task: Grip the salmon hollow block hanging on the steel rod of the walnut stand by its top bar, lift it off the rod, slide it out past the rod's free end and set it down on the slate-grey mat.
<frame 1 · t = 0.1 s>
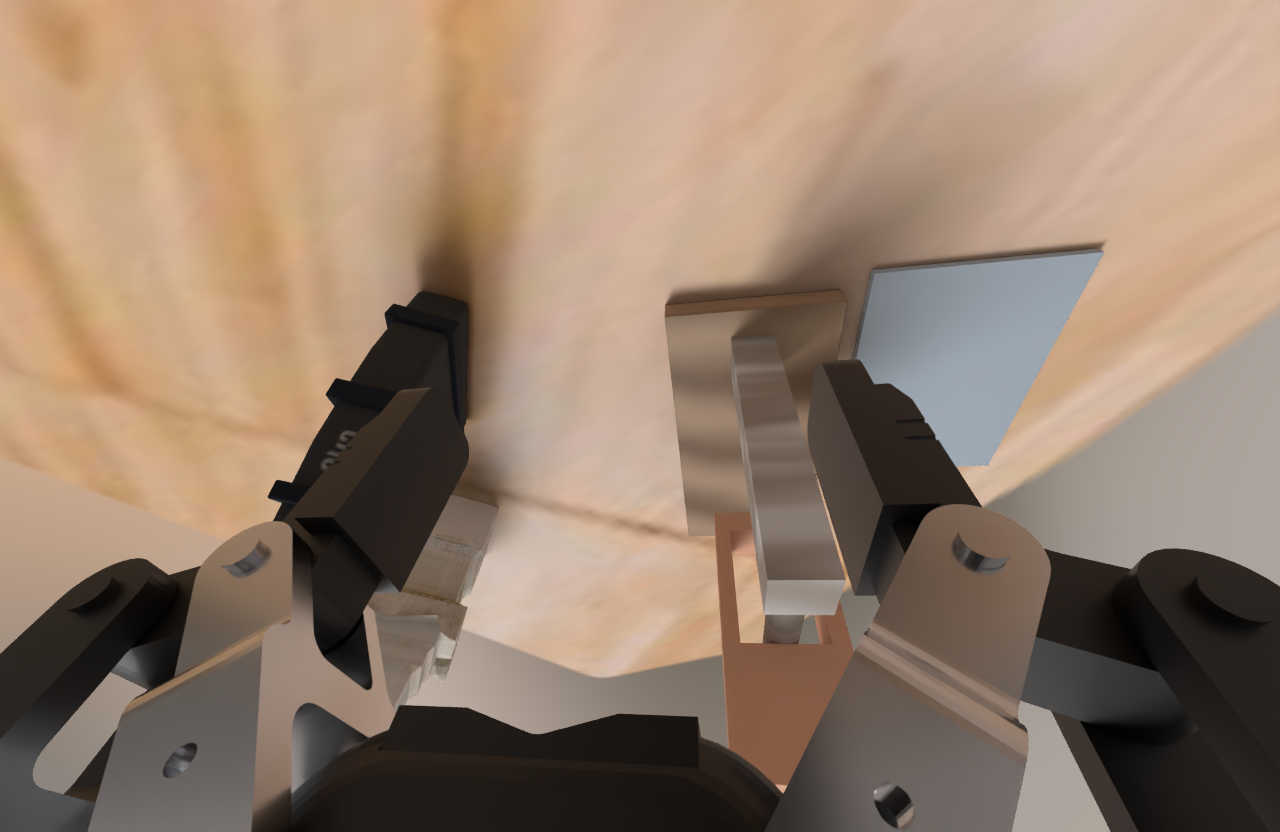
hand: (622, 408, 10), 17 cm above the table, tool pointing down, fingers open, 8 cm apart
miniature monument: (443, 519, 44), on the table
salmon hollow block: (763, 524, 26), point 9 cm above the table, touching stand
stand: (746, 433, 33), on the table
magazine: (447, 374, 32), on the table
mat: (936, 379, 29), on the table
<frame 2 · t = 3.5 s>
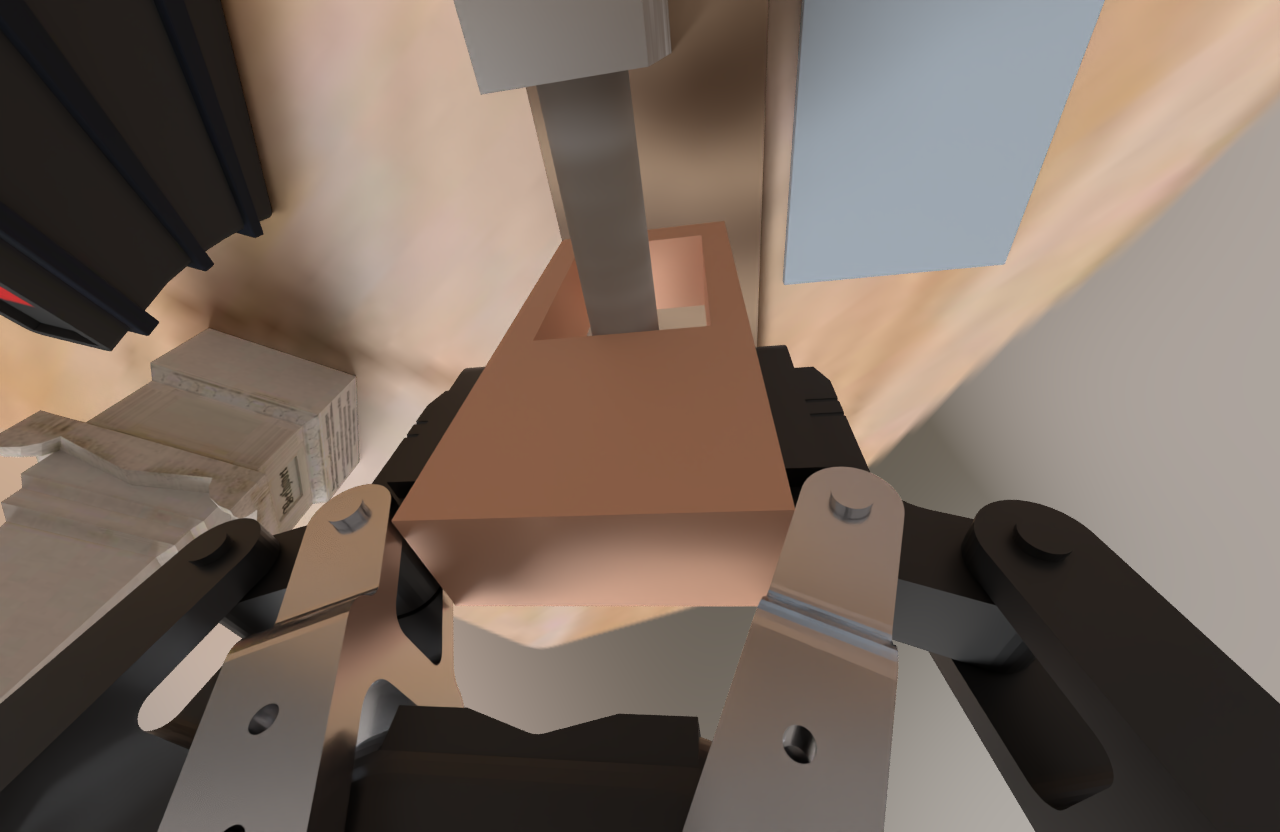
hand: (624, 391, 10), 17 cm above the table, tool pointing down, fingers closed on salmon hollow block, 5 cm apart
miniature monument: (294, 401, 34), on the table
salmon hollow block: (646, 264, 16), point 9 cm above the table, touching gripper, stand
stand: (659, 220, 24), on the table
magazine: (226, 121, 22), on the table
mat: (926, 91, 19), on the table
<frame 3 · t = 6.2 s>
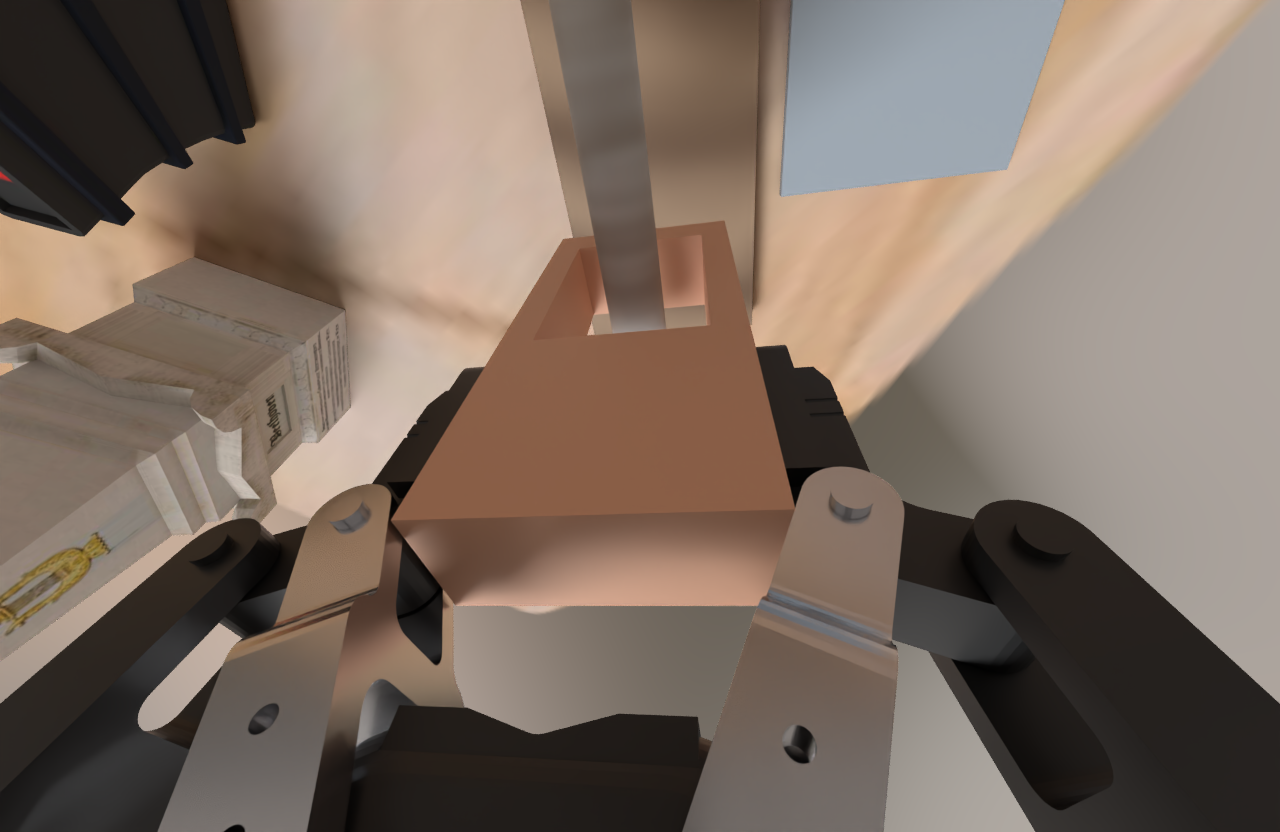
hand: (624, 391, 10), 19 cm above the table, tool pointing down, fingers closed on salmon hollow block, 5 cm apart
miniature monument: (283, 339, 34), on the table
salmon hollow block: (646, 264, 16), point 11 cm above the table, touching gripper
stand: (653, 125, 23), on the table
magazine: (205, 19, 22), on the table
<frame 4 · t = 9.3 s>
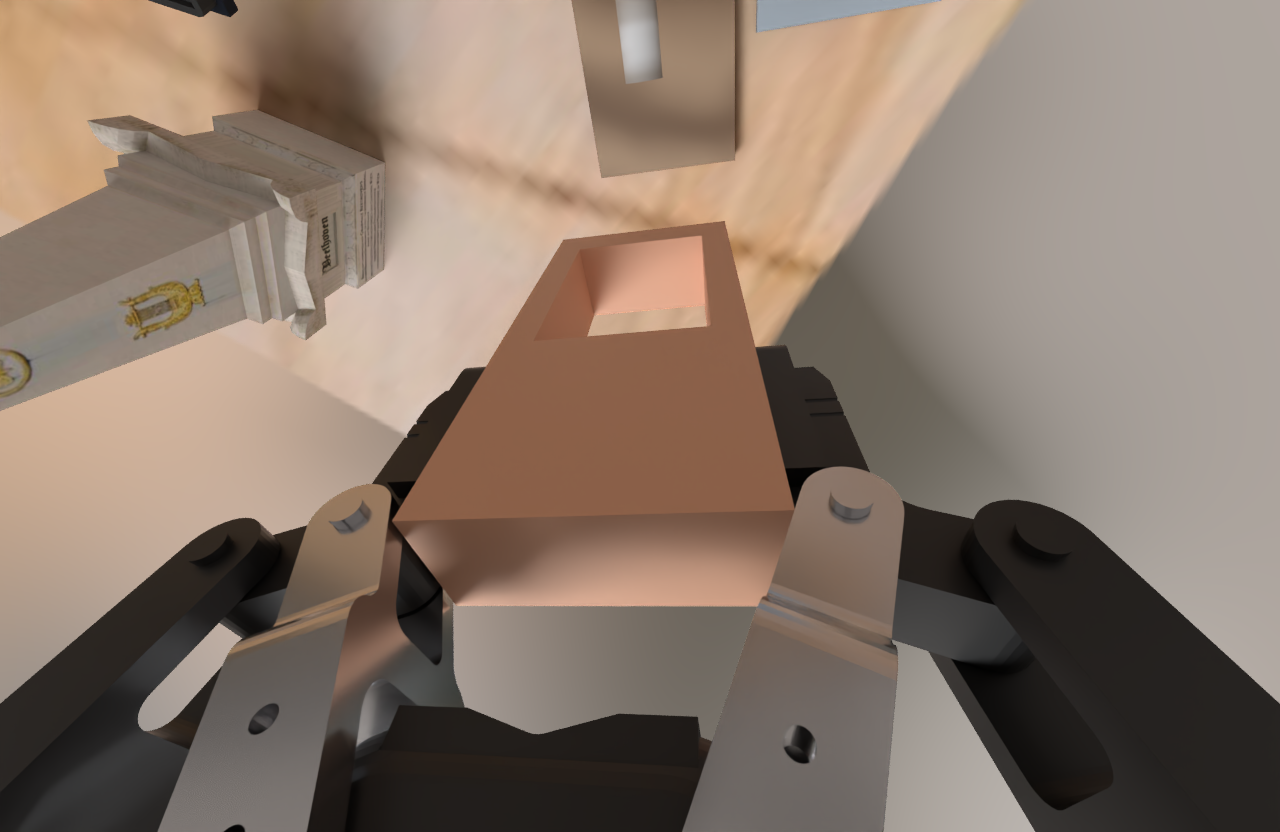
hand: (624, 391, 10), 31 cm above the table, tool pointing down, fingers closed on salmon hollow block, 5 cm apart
miniature monument: (328, 197, 38), on the table
salmon hollow block: (646, 264, 16), point 23 cm above the table, touching gripper
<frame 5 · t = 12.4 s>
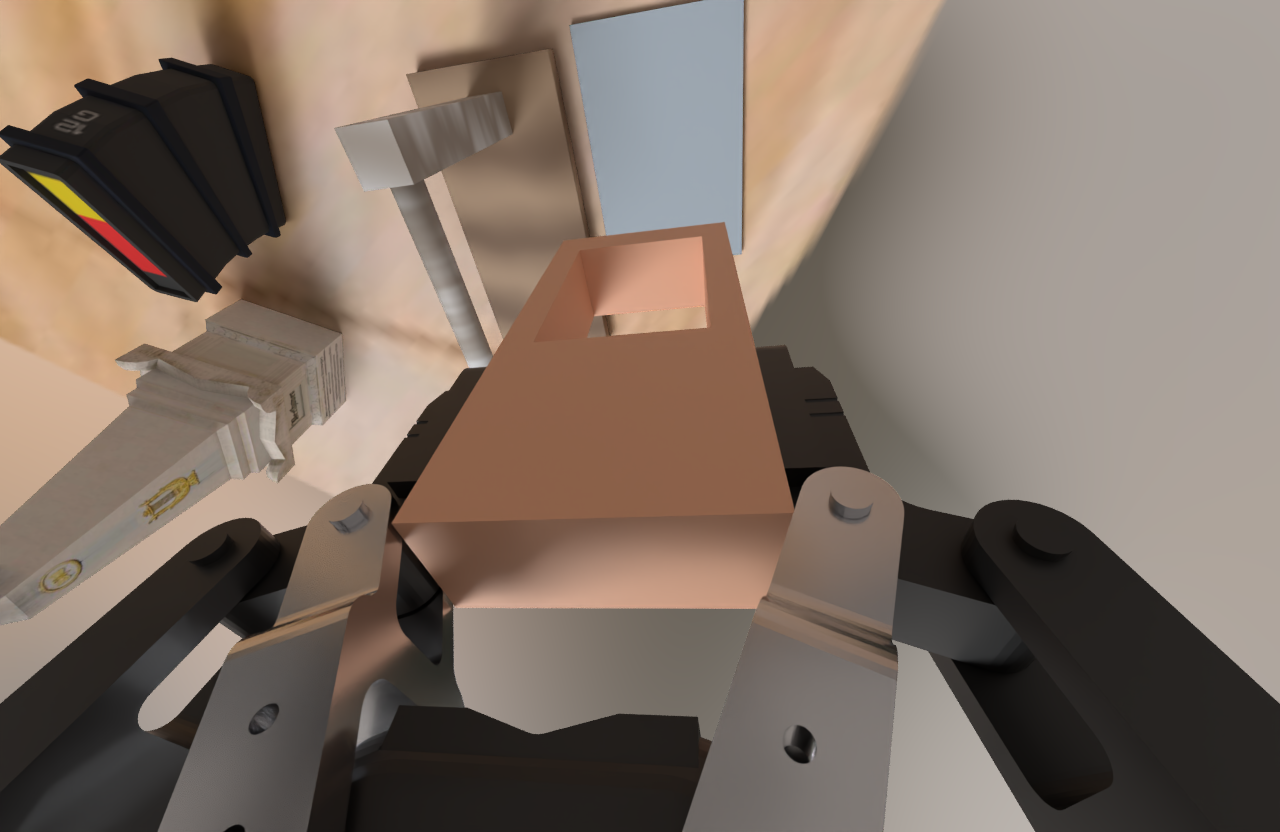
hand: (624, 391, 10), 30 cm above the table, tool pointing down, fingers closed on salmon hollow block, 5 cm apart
miniature monument: (298, 353, 48), on the table
salmon hollow block: (646, 265, 16), point 22 cm above the table, touching gripper
stand: (528, 226, 38), on the table
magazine: (259, 166, 37), on the table
mat: (666, 152, 34), on the table
when the fingers open (10 cm above the table, at t = 15.5 s): salmon hollow block drops 1 cm, resting on mat.
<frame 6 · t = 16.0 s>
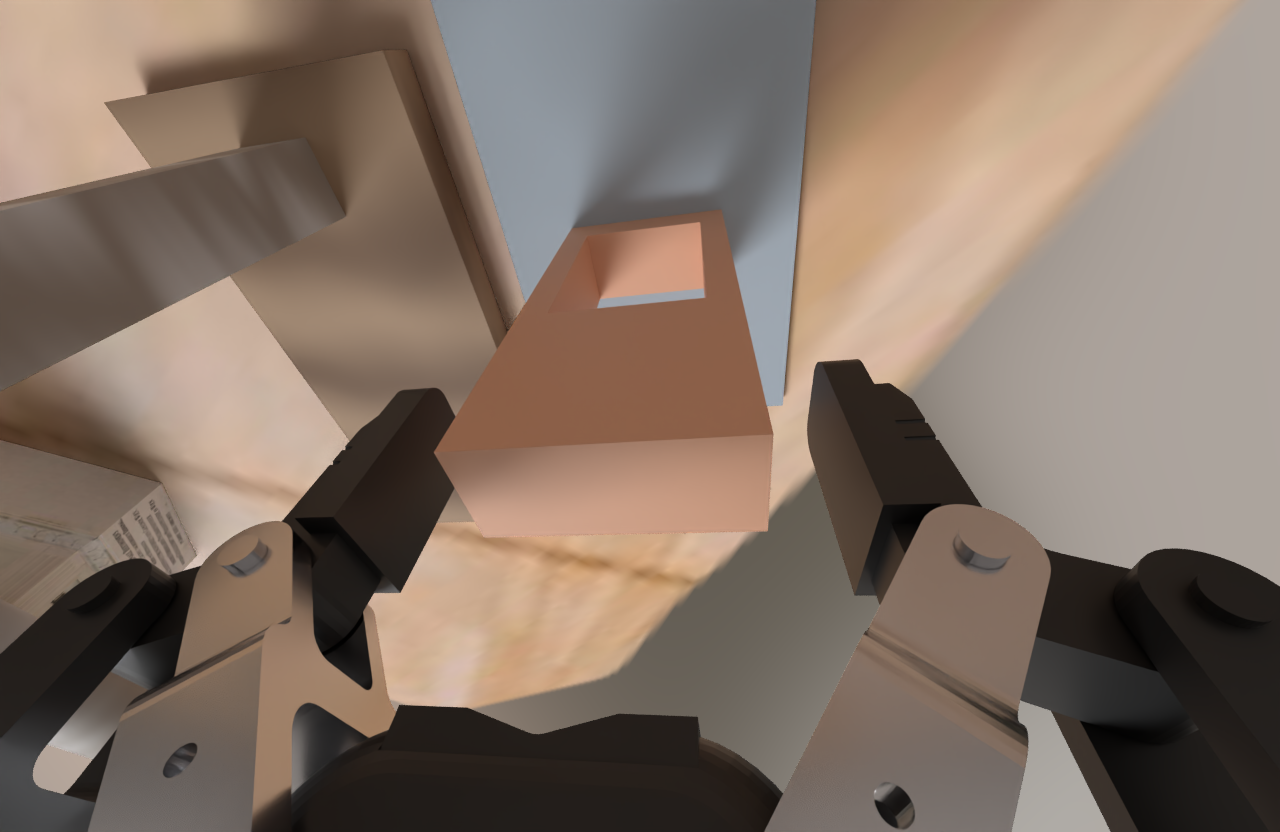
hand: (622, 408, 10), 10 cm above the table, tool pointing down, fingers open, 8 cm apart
miniature monument: (110, 501, 32), on the table
salmon hollow block: (648, 251, 17), resting on mat
stand: (415, 355, 22), on the table
mat: (649, 246, 18), on the table
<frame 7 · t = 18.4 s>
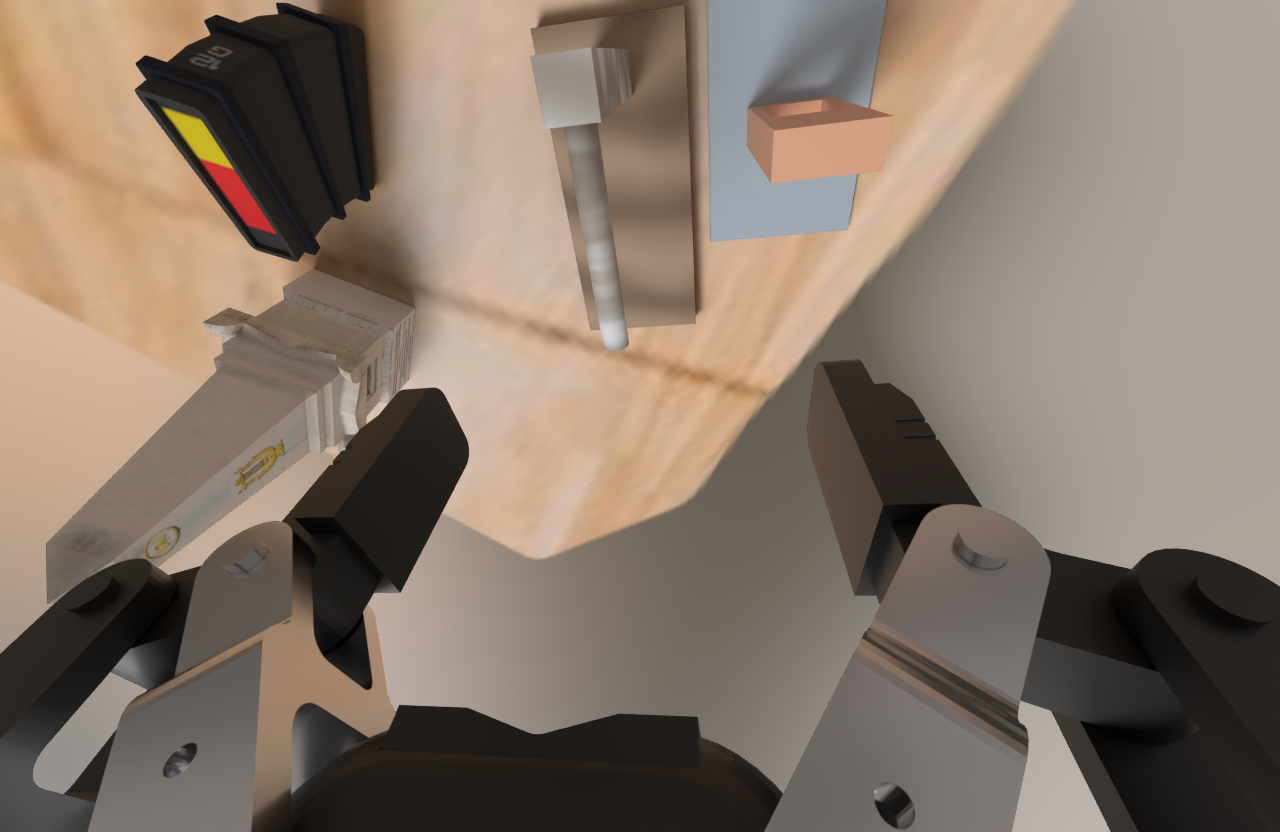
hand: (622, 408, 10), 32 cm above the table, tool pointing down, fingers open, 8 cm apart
miniature monument: (366, 328, 47), on the table
salmon hollow block: (786, 122, 32), resting on mat
stand: (629, 196, 37), on the table
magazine: (353, 126, 35), on the table
mat: (785, 120, 33), on the table
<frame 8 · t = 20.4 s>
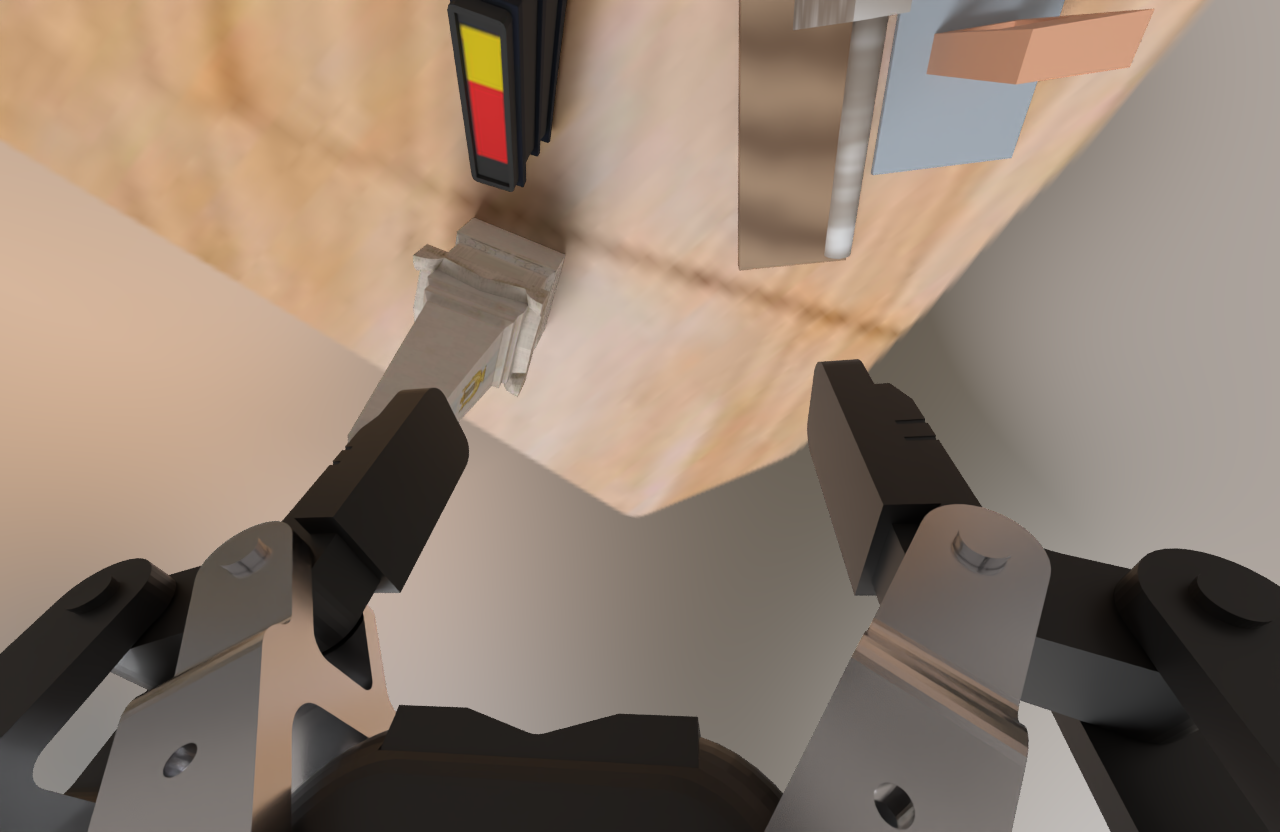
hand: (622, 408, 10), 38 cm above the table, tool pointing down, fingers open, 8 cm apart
miniature monument: (512, 277, 49), on the table
salmon hollow block: (970, 47, 34), resting on mat
stand: (798, 131, 38), on the table
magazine: (540, 69, 37), on the table
mat: (967, 47, 34), on the table
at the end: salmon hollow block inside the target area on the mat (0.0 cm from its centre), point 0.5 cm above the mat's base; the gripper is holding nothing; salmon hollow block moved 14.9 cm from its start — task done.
